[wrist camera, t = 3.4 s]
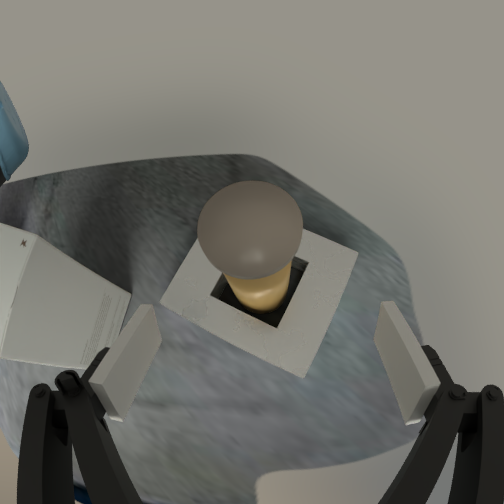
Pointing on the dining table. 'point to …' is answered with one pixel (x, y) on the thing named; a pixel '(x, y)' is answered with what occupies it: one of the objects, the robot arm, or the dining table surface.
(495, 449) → the robot arm
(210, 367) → the dining table surface
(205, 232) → the yellow and grey cylinder
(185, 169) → the dining table surface
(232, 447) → the dining table surface
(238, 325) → the housing
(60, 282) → the supplement box
